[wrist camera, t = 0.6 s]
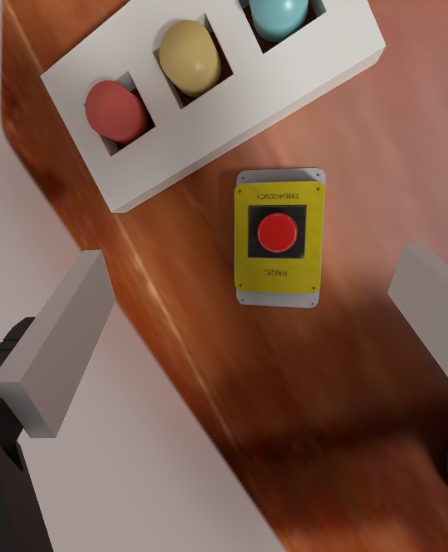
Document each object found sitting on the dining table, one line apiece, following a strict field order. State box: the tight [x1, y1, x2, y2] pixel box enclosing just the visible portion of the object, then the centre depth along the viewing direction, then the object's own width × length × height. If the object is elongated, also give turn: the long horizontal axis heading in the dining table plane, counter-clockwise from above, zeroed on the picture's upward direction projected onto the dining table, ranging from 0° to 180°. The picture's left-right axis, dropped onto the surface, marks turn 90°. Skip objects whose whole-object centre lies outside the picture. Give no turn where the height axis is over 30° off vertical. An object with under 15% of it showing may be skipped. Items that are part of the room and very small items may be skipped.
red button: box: [85, 80, 148, 144], centre depth 31 cm, size 5×5×4 cm
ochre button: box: [159, 20, 221, 97], centre depth 29 cm, size 5×5×4 cm
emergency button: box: [234, 168, 326, 308], centre depth 32 cm, size 9×4×15 cm
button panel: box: [40, 0, 386, 213], centre depth 31 cm, size 16×30×3 cm, turn 117°
